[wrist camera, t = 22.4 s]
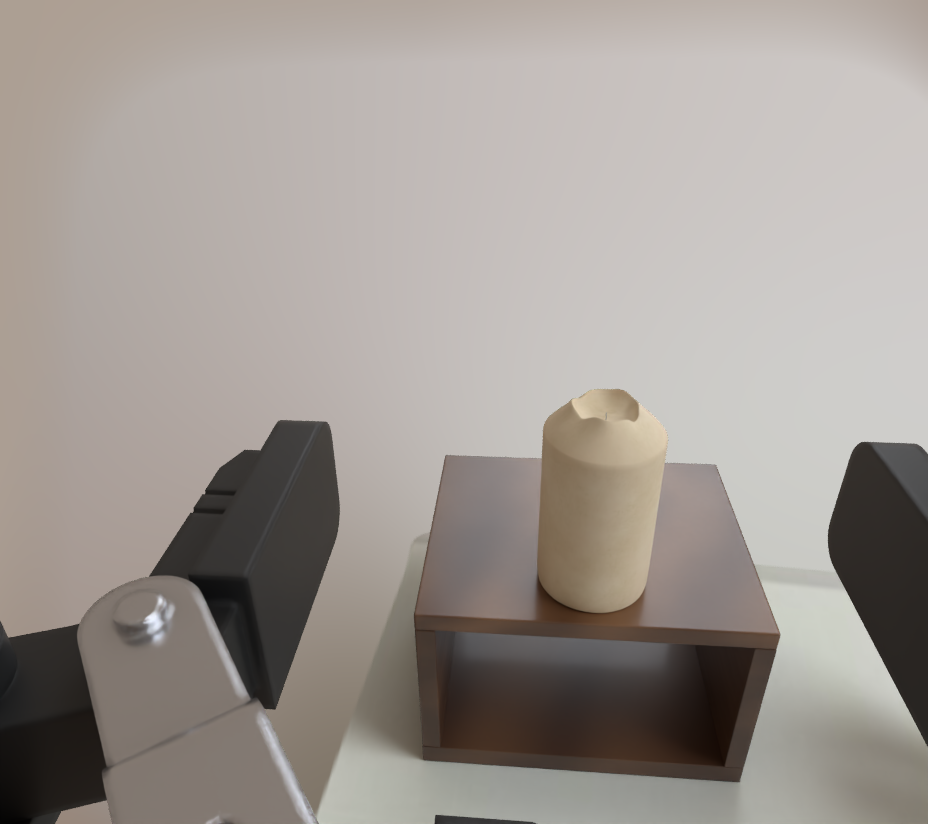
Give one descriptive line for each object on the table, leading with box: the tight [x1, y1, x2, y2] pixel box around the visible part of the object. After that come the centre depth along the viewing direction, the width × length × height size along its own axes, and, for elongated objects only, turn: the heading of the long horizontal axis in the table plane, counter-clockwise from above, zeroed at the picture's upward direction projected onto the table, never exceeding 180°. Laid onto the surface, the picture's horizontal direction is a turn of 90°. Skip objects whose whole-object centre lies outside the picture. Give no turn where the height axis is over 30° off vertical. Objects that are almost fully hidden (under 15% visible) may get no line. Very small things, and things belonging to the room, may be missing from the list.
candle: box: [537, 389, 668, 613], centre depth 34 cm, size 6×6×10 cm
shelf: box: [414, 455, 780, 782], centre depth 43 cm, size 17×14×11 cm
